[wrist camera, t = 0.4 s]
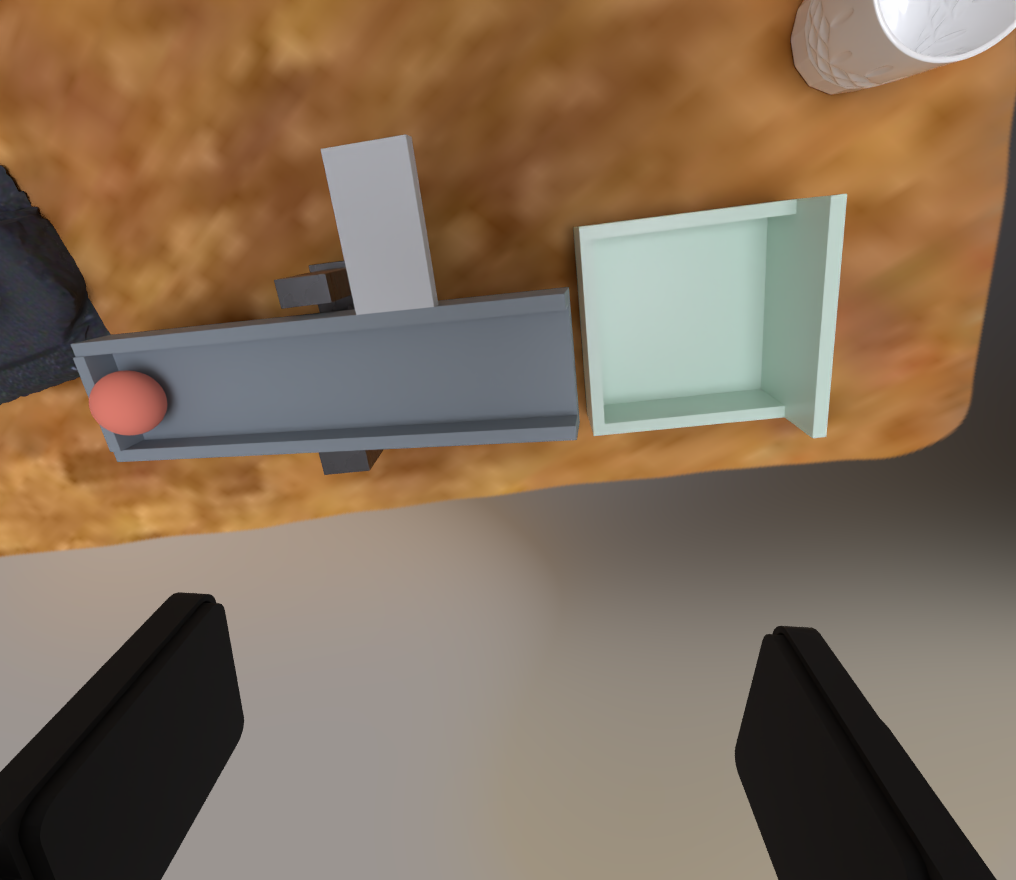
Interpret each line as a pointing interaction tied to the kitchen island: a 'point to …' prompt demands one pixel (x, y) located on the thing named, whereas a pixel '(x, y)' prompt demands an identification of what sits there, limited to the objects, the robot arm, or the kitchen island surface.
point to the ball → (128, 402)
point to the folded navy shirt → (38, 300)
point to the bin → (711, 315)
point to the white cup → (891, 38)
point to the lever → (358, 349)
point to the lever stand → (331, 295)
